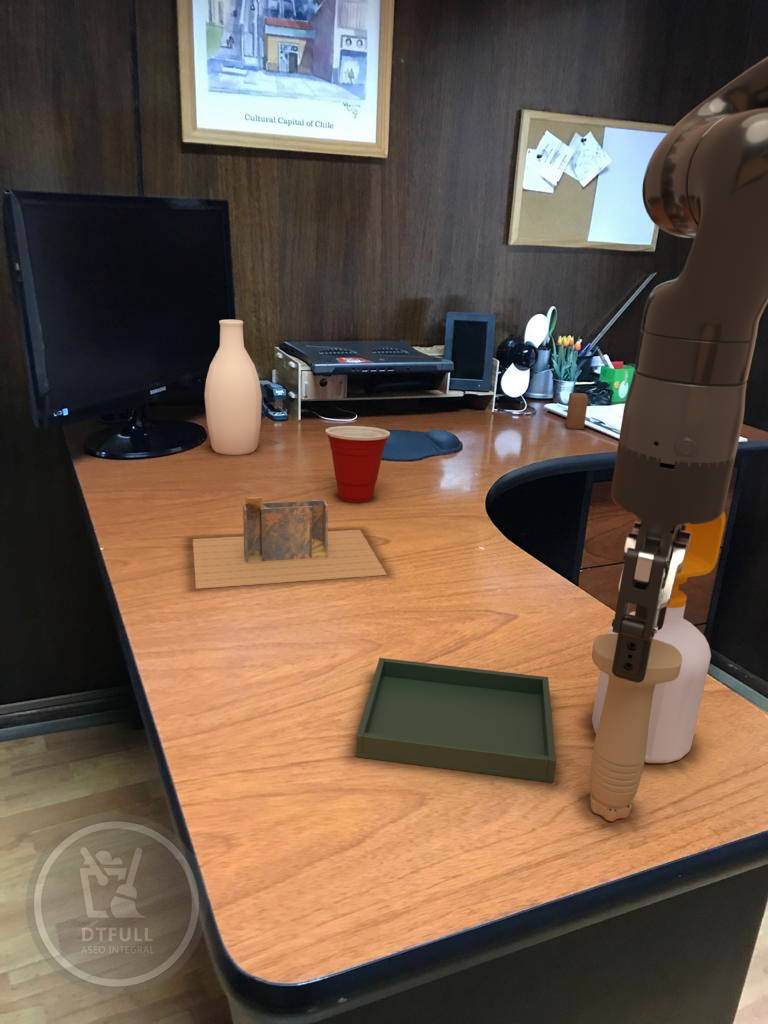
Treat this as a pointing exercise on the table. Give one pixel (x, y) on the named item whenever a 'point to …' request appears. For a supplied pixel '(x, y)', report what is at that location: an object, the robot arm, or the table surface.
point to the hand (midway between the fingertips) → (638, 650)
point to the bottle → (233, 395)
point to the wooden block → (576, 410)
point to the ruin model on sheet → (283, 548)
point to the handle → (625, 726)
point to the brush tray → (459, 720)
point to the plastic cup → (356, 460)
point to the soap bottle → (683, 695)
